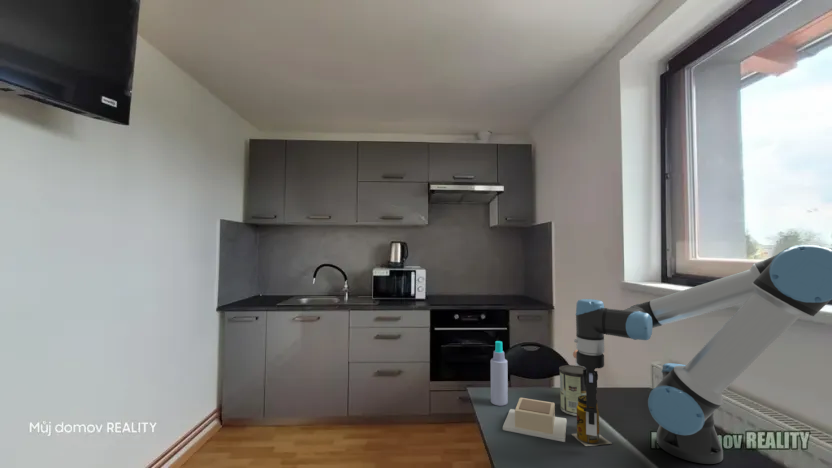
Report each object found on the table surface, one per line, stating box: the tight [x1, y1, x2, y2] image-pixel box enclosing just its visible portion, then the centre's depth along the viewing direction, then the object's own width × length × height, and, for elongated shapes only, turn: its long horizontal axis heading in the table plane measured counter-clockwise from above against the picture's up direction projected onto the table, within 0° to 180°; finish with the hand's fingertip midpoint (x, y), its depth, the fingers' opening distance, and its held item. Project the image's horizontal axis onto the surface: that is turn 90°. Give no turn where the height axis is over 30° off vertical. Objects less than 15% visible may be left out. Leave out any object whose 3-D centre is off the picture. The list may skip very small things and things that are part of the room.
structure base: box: [502, 397, 567, 443], centre depth 119 cm, size 18×14×6 cm
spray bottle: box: [490, 340, 509, 407], centre depth 137 cm, size 6×6×22 cm
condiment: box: [571, 395, 613, 447], centre depth 111 cm, size 7×8×12 cm
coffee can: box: [558, 364, 586, 417], centre depth 131 cm, size 10×10×14 cm
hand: (590, 424), depth 111 cm, fingers open, 13 cm apart
